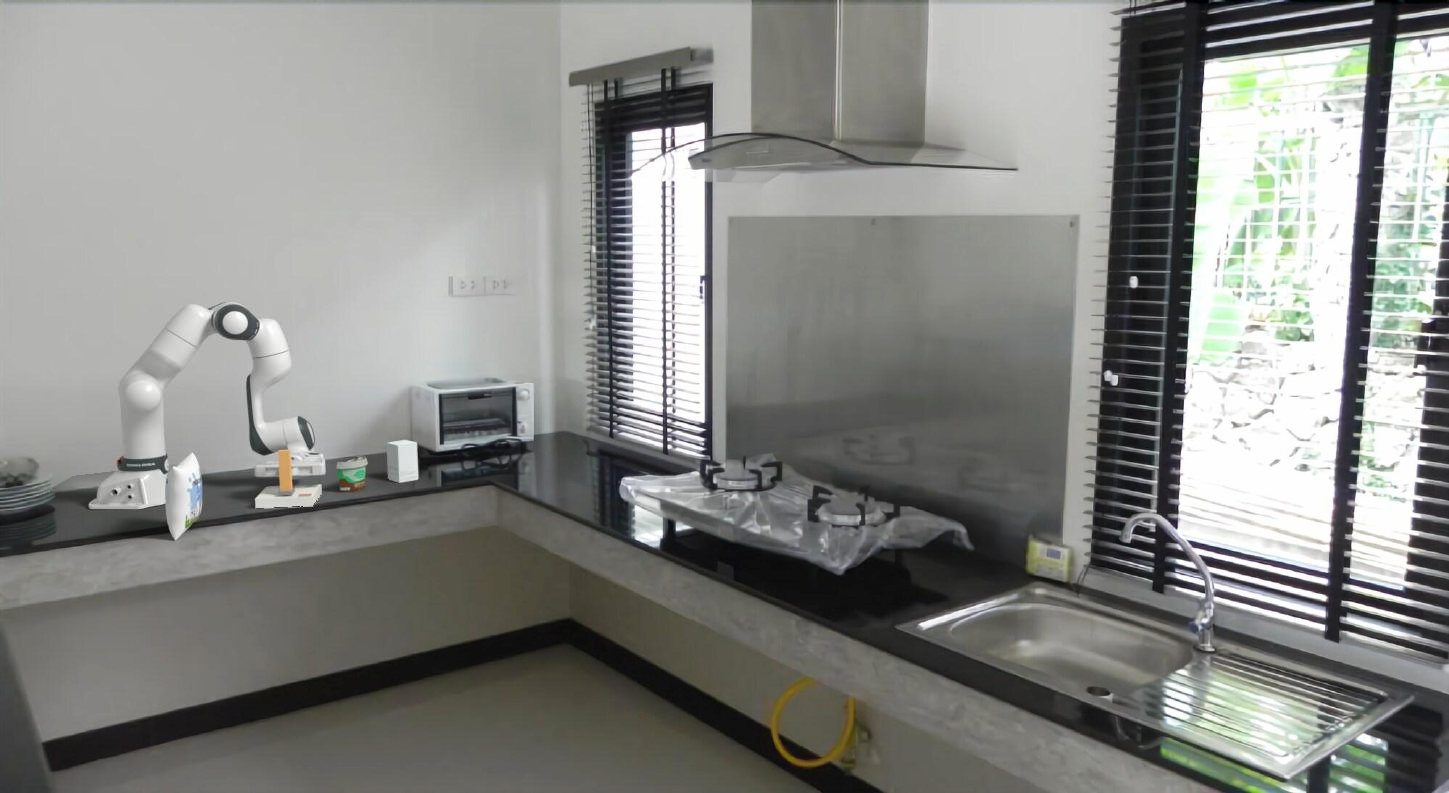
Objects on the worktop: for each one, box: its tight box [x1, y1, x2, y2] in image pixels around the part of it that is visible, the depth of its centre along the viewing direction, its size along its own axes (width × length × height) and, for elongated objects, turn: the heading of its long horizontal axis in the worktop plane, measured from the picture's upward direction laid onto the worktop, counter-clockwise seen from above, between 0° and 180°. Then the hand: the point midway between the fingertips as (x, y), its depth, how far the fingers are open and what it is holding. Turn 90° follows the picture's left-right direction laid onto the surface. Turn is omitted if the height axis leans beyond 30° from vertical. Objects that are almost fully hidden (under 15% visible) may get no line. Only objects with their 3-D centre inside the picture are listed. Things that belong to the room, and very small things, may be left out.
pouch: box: [164, 452, 203, 542], centre depth 286 cm, size 8×19×20 cm, turn 9°
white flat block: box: [254, 483, 323, 509], centre depth 321 cm, size 16×16×3 cm
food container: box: [336, 454, 369, 493], centre depth 336 cm, size 12×6×10 cm, turn 168°
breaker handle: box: [277, 450, 295, 496], centre depth 316 cm, size 4×5×13 cm
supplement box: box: [386, 439, 419, 483], centre depth 350 cm, size 7×7×13 cm
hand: (286, 474), depth 317 cm, fingers closed, pressing on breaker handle
